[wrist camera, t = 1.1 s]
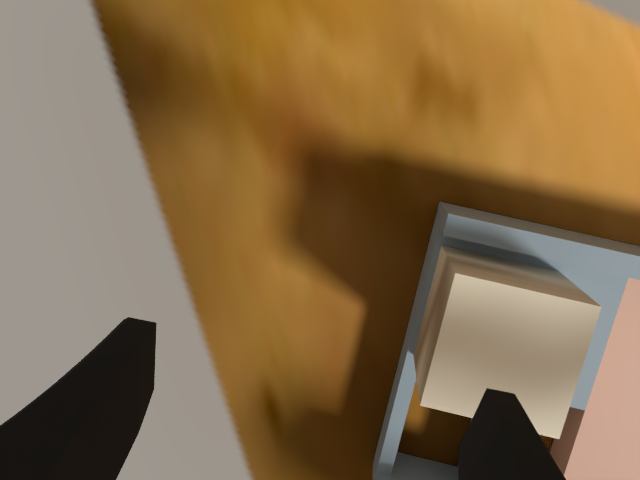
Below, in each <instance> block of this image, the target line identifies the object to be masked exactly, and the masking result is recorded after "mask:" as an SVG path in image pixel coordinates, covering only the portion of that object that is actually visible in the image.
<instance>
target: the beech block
mask: <svg viewBox="0 0 640 480" xmlns="http://www.w3.org/2000/svg"><path fill="white" fill-rule="evenodd" d="M601 308H602V307H601V306H600V305H599V304H598V303H597V302H595V301H594V300H593V299H592V298H591V297H589V296H588V295H587V294H586V293H585V292H583V291H582V290H581V289H580V288H579V287H577V286H576V285H575V284H574V283H573V282H571V281H570V280H569V279H568V278H566V277H565V276H564V275H563V274H562V273H560V272H558V271H553V270H549V269H544V268H540V267H536V266H531V265H527V264H522V263H518V262H514V261H509V260H505V259H500V258H496V257H492V256H487V255H483V254H478V253H474V252H470V251H465V250H461V249H456V248H452V247H448V246H443V245H442V246H441V249H440V253H439V257H438V261H437V265H436V269H435V273H434V276H433V280H432V284H431V288H430V292H429V296H428V300H427V303H426V307H425V311H424V315H423V319H422V323H421V327H420V330H419V334H418V338H417V342H416V346H415V350H414V354H413V356H414V364H415V371H416V379H417V386H418V394H419V401H420V406H424V407H428V408H432V409H436V410H440V411H445V412H449V413H453V414H457V415H461V416H465V417H469V418H473V416H474V414H475V412H476V410H477V408H478V406H479V404H480V401H481V399H482V397H483V395H484V393H485V391H486V389H487V388H489V389H494V390H499V391H504V392H509V393H514V394H515V395H516V397H517V398H518V400H519V402H520V403H521V405H522V407H523V408H524V410H525V412H526V414H527V415H528V417H529V419H530V420H531V422H532V424H533V426H534V427H535V429H536V431H537V432H538V434H539V435H543V436H547V437H551V438H556V439H560V436H561V433H562V429H563V426H564V423H565V420H566V417H567V414H568V411H569V408H570V404H571V401H572V398H573V395H574V392H575V389H576V386H577V383H578V379H579V376H580V373H581V370H582V367H583V364H584V361H585V358H586V355H587V351H588V348H589V345H590V342H591V339H592V336H593V333H594V330H595V326H596V323H597V320H598V317H599V314H600V311H601Z"/></svg>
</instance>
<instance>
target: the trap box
mask: <svg viewBox="0 0 640 480" xmlns="http://www.w3.org/2000/svg"><path fill="white" fill-rule="evenodd" d="M442 245H443V246H448V247H452V248H456V249H461V250H465V251H470V252H474V253H478V254H483V255H487V256H492V257H496V258H500V259H505V260H509V261H514V262H518V263H522V264H527V265H531V266H536V267H540V268H544V269H549V270H553V271H558V272H560V273H562V274H563V275H564V276H565V277H566V278H568V279H569V280H570V281H571V282H573V283H574V284H575V285H576V286H577V287H579V288H580V289H581V290H582V291H583V292H585V293H586V294H587V295H588V296H589V297H591V298H592V299H593V300H594V301H595V302H597V303H598V304H599V305H600V306H601V307H602V308H601V311H600V314H599V317H598V320H597V323H596V326H595V330H594V333H593V336H592V339H591V342H590V345H589V348H588V351H587V355H586V358H585V361H584V364H583V367H582V370H581V373H580V376H579V379H578V383H577V386H576V389H575V392H574V395H573V398H572V401H571V404H570V408H569V411H568V414H567V417H566V420H565V423H564V426H563V429H562V433H561V436H560V439H556V438H554V440H553V443H552V446H551V450H550V454H551V456H552V458H553V459H554V461H555V462H556V464H557V466H558V467H559V469H560V470H561V472H562V474H563V475H564V477H565V478H566V480H640V246H637V245H633V244H628V243H624V242H619V241H615V240H610V239H606V238H601V237H597V236H592V235H588V234H583V233H579V232H574V231H570V230H565V229H561V228H556V227H552V226H547V225H543V224H538V223H534V222H529V221H525V220H521V219H516V218H512V217H507V216H503V215H498V214H494V213H489V212H485V211H480V210H476V209H471V208H467V207H462V206H458V205H453V204H449V203H444V202H440V201H439V205H438V209H437V213H436V217H435V221H434V225H433V229H432V233H431V237H430V241H429V244H428V248H427V252H426V256H425V260H424V264H423V268H422V272H421V276H420V280H419V284H418V288H417V292H416V296H415V299H414V303H413V307H412V311H411V315H410V319H409V323H408V327H407V331H406V335H405V339H404V343H403V347H402V351H401V355H400V358H399V362H398V366H397V370H396V374H395V378H394V382H393V386H392V390H391V394H390V398H389V402H388V406H387V410H386V413H385V417H384V421H383V425H382V429H381V433H380V437H379V441H378V445H377V449H376V453H375V457H374V461H373V478H372V480H458V466H457V467H456V466H452V465H448V464H444V463H440V462H436V461H432V460H428V459H424V458H420V457H416V456H412V455H408V454H404V453H400V452H397V450H398V446H399V442H400V439H401V435H402V431H403V427H404V423H405V420H406V416H407V412H408V408H409V404H410V400H411V397H412V393H413V389H414V385H415V381H416V371H415V364H414V356H413V354H414V350H415V346H416V342H417V338H418V334H419V330H420V327H421V323H422V319H423V315H424V311H425V307H426V303H427V300H428V296H429V292H430V288H431V284H432V280H433V276H434V273H435V269H436V265H437V261H438V257H439V253H440V249H441V246H442ZM471 420H472V418H471ZM471 420H470V423H471ZM469 425H470V424H469Z"/></svg>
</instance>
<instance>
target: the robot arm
mask: <svg viewBox="0 0 640 480" xmlns="http://www.w3.org/2000/svg"><path fill="white" fill-rule="evenodd" d="M155 345H156V323H155V322H149V321H145V320H139V319H134V318H129V317H128V318H127V319H124V320H123V321H122V322H121V323H120V324H119V325H118V326H117V327H116V328H115V329H114V330H113V331H112V332H111V333H110V334H109V335H108V336H107V337H106V338H105V339H104V340H103V341H102V342H101V343H99V344H98V345H97V346H96V347H95V348H94V349H93V350H92V351H91V352H90V353H89V354H88V355H87V356H85V357H84V358H83V359H82V360H81V361H80V362H79V363H78V364H77V365H75V366H74V367H73V368H72V369H71V370H70V371H68V372H67V373H66V374H65V375H64V376H63V377H62V378H60V379H59V380H58V381H57V382H56V383H55V384H54V385H52V386H51V387H50V388H49V389H48V390H46V391H45V392H44V393H42V394H41V395H40V396H39V397H37V398H36V399H35V400H34V401H32V402H31V403H30V404H28V405H27V406H26V407H25V408H23V409H22V410H21V411H19V412H18V413H17V414H16V415H14V416H13V417H12V418H10V419H9V420H7V421H6V422H5V423H3V424H2V425H0V480H116V478H117V476H118V474H119V472H120V470H121V468H122V466H123V464H124V462H125V459H126V458H127V456H128V454H129V451H130V449H131V447H132V445H133V443H134V441H135V439H136V437H137V435H138V433H139V430H140V427H141V424H142V422H143V419H144V416H145V413H146V411H147V407H148V405H149V402H150V399H151V396H152V393H153V390H154V372H155ZM458 480H566V478H565V477H564V475H563V474H562V472H561V470H560V469H559V467H558V466H557V464H556V462H555V461H554V459H553V458H552V456H551V454H550V453H549V451H548V449H547V448H546V446H545V444H544V443H543V441H542V439H541V438H540V436H539V434H538V432H537V431H536V429H535V427H534V426H533V424H532V422H531V420H530V419H529V417H528V415H527V414H526V412H525V410H524V408H523V407H522V405H521V403H520V402H519V400H518V398H517V397H516V395H515V394H514V393H509V392H504V391H499V390H494V389H489V388H487V389H486V391H485V393H484V395H483V397H482V399H481V401H480V404H479V406H478V408H477V410H476V412H475V414H474V416H473V418H472V420H471V423H470V425H469V427H468V429H467V431H466V433H465V435H464V437H463V440H462V442H461V444H460V446H459V448H458Z"/></svg>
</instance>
